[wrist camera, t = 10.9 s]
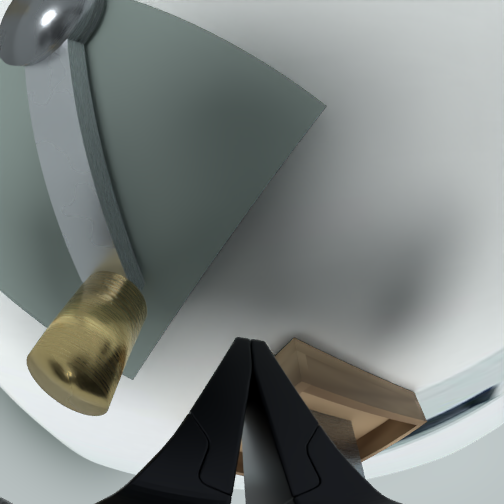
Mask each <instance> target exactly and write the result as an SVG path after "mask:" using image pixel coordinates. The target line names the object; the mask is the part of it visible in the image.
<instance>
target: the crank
mask: <svg viewBox="0 0 504 504" xmlns="http://www.w3.org/2000/svg"><path fill="white" fill-rule="evenodd" d="M104 2H105V0H12V2H11V4H10V5H9V7H8V9H7V10H6V12H5V15H4V17H3V19H2V22H1V24H0V58H1V59H2V61H3V62H5V63H6V64H8V65H12V66H25V77H26V87H27V96H28V103H29V110H30V116H31V122H32V128H33V133H34V138H35V143H36V148H37V152H38V156H39V160H40V164H41V168H42V172H43V176H44V180H45V183H46V187H47V190H48V193H49V197H50V200H51V203H52V206H53V209H54V212H55V215H56V218H57V221H58V224H59V227H60V229H61V232H62V235H63V237H64V240H65V243H66V245H67V248H68V250H69V253H70V255H71V258H72V260H73V262H74V265H75V267H76V269H77V271H78V274H79V276H80V278H81V280H82V283H83V284H82V285H81V287H80V288H79V289H78V290H77V291H76V293H75V294H74V295H73V296H72V297H71V299H70V300H69V301H68V302H67V304H66V305H65V306H64V307H63V309H62V310H61V311H60V312H59V314H58V315H57V316H56V318H55V319H54V320H53V322H52V323H51V324H50V326H49V327H48V328H47V330H46V331H45V332H44V334H43V335H42V336H41V338H40V339H39V341H38V342H37V343H36V345H35V346H34V348H33V349H32V350H31V352H30V353H29V355H28V357H27V366H28V369H29V371H30V373H31V375H32V377H33V378H34V380H35V381H36V382H37V384H38V385H39V386H40V387H41V388H42V389H43V390H44V391H45V392H46V393H47V394H48V395H49V396H51V397H52V398H53V399H55V400H56V401H57V402H59V403H60V404H62V405H64V406H65V407H67V408H69V409H71V410H74V411H76V412H79V413H82V414H85V415H90V416H100V415H103V414H105V413H106V412H107V411H108V408H109V406H110V403H111V400H112V398H113V395H114V393H115V390H116V388H117V385H118V382H119V380H120V378H121V375H122V373H123V370H124V368H125V365H126V363H127V361H128V358H129V356H130V353H131V351H132V349H133V346H134V344H135V342H136V340H137V337H138V335H139V333H140V330H141V328H142V326H143V324H144V322H145V319H146V316H147V305H146V302H145V299H144V297H143V295H142V294H141V291H142V289H143V288H144V286H145V284H146V283H145V281H144V278H143V276H142V273H141V271H140V268H139V265H138V263H137V260H136V257H135V255H134V252H133V249H132V246H131V243H130V241H129V238H128V235H127V232H126V229H125V226H124V223H123V220H122V217H121V214H120V210H119V207H118V204H117V201H116V197H115V194H114V191H113V187H112V184H111V180H110V177H109V173H108V169H107V165H106V162H105V158H104V154H103V150H102V146H101V141H100V137H99V133H98V128H97V123H96V119H95V114H94V109H93V103H92V98H91V92H90V86H89V80H88V73H87V66H86V59H85V50H84V43H85V42H86V41H87V40H88V38H89V37H90V36H91V34H92V33H93V31H94V29H95V28H96V26H97V24H98V22H99V20H100V17H101V15H102V12H103V8H104Z"/></svg>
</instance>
